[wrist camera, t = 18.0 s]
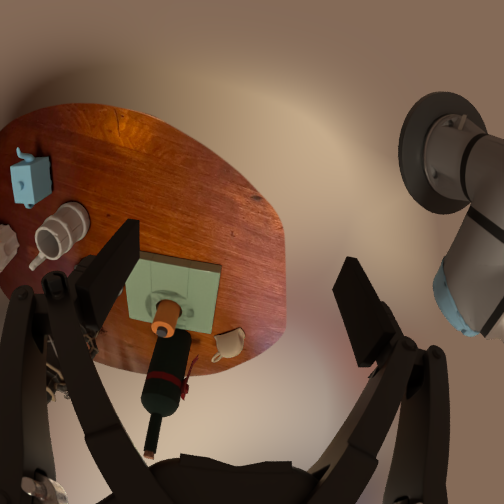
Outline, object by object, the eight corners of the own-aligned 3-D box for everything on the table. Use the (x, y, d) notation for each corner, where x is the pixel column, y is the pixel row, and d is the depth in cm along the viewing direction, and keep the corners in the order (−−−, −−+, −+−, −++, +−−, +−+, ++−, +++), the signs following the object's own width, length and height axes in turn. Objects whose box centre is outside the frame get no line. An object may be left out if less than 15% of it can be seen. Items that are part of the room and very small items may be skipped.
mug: (98, 220, 44) (64, 255, 34) (71, 253, 48) (41, 288, 37) (72, 191, 41) (33, 220, 30) (48, 228, 44) (15, 259, 34)
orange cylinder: (182, 295, 53) (172, 328, 45) (181, 311, 55) (173, 343, 47) (161, 291, 52) (149, 323, 44) (161, 307, 54) (150, 338, 47)
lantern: (108, 311, 56) (59, 422, 30) (107, 348, 63) (72, 442, 37) (42, 280, 51) (-21, 370, 26) (48, 320, 59) (3, 401, 33)
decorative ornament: (249, 338, 59) (249, 356, 54) (216, 347, 61) (215, 365, 56) (241, 327, 57) (240, 346, 53) (208, 337, 59) (205, 355, 54)
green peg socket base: (221, 265, 49) (220, 273, 47) (212, 326, 57) (210, 334, 55) (127, 248, 47) (122, 255, 45) (133, 310, 55) (129, 318, 53)
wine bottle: (200, 351, 62) (184, 468, 36) (159, 343, 61) (131, 457, 35) (202, 330, 58) (183, 460, 32) (157, 322, 57) (122, 446, 31)
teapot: (30, 140, 35) (4, 150, 28) (51, 137, 35) (24, 147, 29) (35, 197, 41) (13, 212, 34) (55, 198, 41) (32, 214, 35)
